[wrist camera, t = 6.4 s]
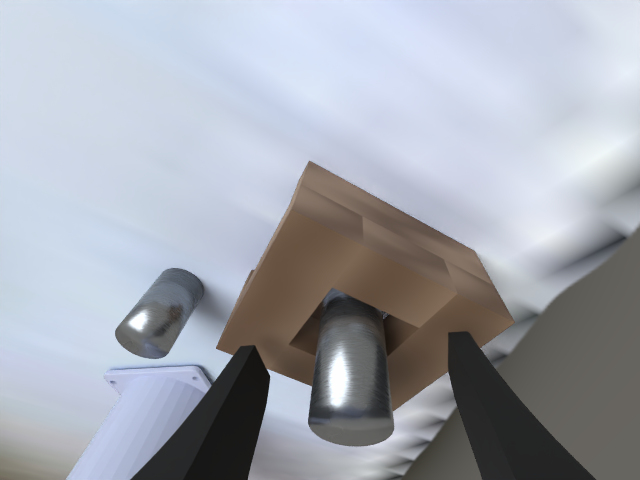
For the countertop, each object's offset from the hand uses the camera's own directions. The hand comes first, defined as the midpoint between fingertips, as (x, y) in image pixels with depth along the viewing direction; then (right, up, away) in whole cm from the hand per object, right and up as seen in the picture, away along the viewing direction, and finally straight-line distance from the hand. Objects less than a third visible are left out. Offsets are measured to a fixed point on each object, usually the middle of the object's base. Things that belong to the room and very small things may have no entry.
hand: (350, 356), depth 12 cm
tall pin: (+1, +3, +4) cm, 5 cm away
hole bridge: (+1, +3, +4) cm, 5 cm away
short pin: (-9, +2, +6) cm, 11 cm away
